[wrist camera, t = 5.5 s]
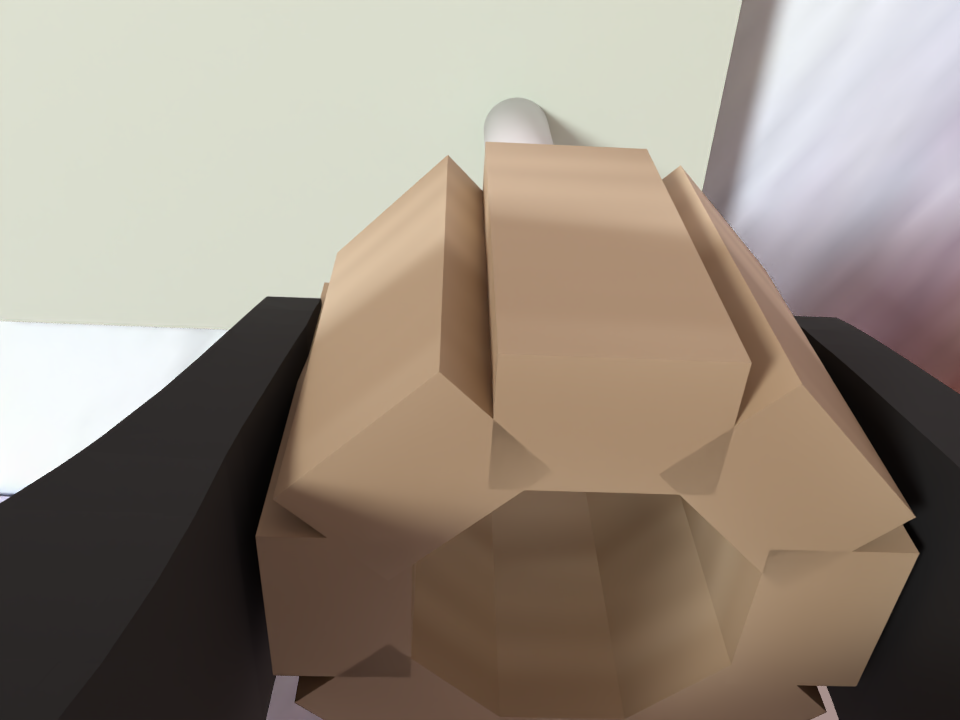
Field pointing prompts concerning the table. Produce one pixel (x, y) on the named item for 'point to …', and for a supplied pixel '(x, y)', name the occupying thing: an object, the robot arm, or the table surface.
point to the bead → (570, 465)
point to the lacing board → (300, 131)
